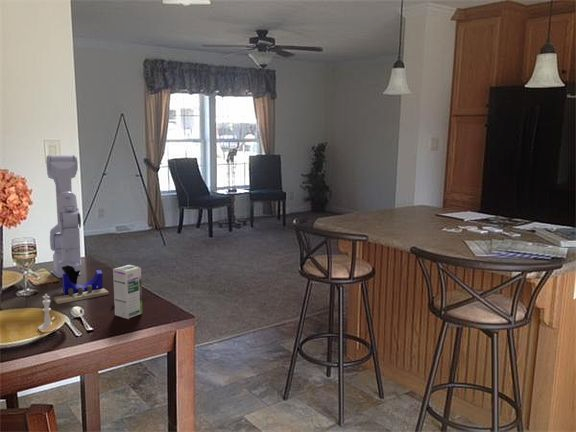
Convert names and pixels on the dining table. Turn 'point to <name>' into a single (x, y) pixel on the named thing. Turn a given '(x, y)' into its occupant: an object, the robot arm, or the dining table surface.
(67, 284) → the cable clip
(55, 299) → the coat hook rack
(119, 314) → the syrup box
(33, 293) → the dining table surface
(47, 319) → the chess piece
